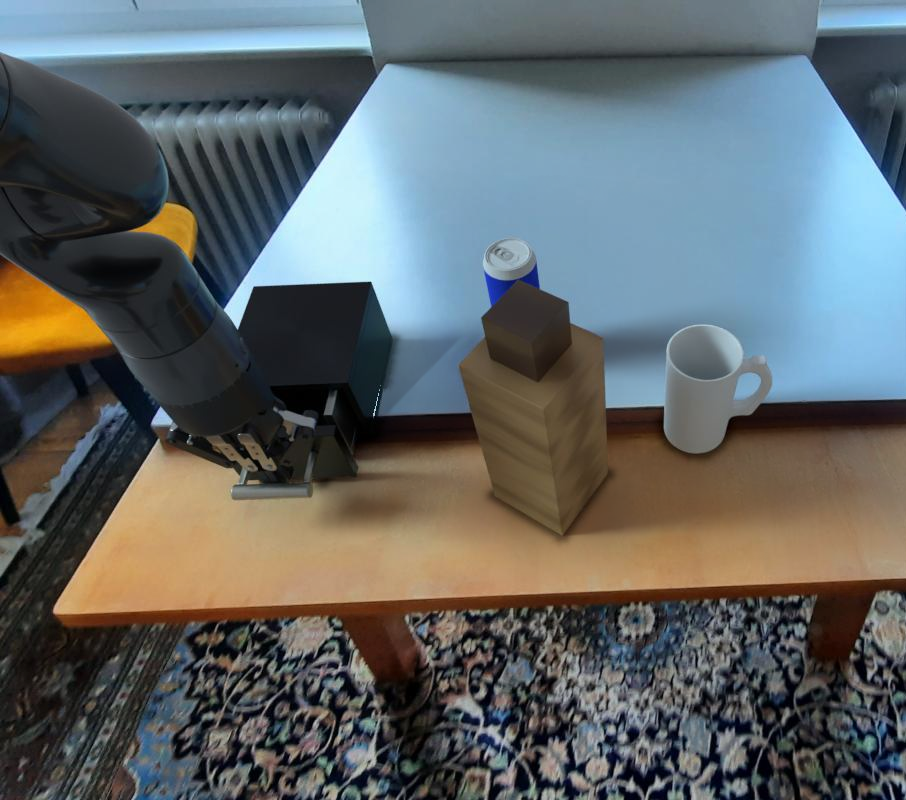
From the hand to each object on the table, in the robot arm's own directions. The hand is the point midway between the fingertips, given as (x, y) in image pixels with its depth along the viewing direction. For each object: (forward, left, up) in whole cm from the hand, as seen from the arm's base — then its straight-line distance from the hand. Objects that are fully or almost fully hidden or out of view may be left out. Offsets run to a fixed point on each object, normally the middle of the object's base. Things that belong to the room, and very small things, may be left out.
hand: (281, 481), depth 68 cm
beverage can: (+27, -8, -4) cm, 28 cm away
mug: (+29, -30, -4) cm, 42 cm away
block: (+15, -20, +16) cm, 30 cm away
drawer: (+5, +3, -3) cm, 7 cm away
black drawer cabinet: (+12, +8, -4) cm, 15 cm away
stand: (+15, -20, -4) cm, 25 cm away
